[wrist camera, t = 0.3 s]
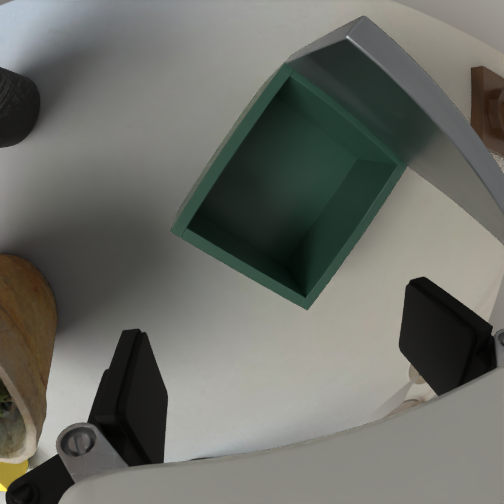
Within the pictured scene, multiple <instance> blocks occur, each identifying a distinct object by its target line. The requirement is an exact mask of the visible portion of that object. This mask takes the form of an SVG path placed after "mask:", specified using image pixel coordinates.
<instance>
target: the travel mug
mask: <svg viewBox="0 0 504 504" xmlns="http://www.w3.org/2000/svg"><path fill="white" fill-rule="evenodd" d="M39 109H40V97H39V92H38V89H37V87H36V85H35V84H34V83H33V82H32V81H31V80H30V79H28V78H27V77H24V76H22V75H20V74H17V73H14V72H12V71H9V70H7V69H4V68H1V67H0V148H3V147H8V146H13V145H15V144H17V143H19V142H21V141H22V140H23V139H24V138H25V137H27V135H28V134H29V133H30V132H31V130H32V129H33V127H34V125H35V123H36V120H37V117H38V114H39Z"/></svg>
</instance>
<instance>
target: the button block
mask: <svg viewBox="0 0 504 504" xmlns="http://www.w3.org/2000/svg"><path fill="white" fill-rule="evenodd" d="M471 82H472V107H471V127H472V128H473V129H474V131H475V132H476V133H477V135H478V136H479V138H480V139H481V140H482V142H483V143H484V145H485V146H486V148H487V149H488V150H489V152H491V153H493V154H496V155H499V156H501V157H504V78H502V77H501V76H499V75H497V74H496V73H494V72H492V71H491V70H489V69H487V68H485V67H484V66H480V67H473V68H471Z"/></svg>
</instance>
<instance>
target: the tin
mask: <svg viewBox="0 0 504 504" xmlns="http://www.w3.org/2000/svg"><path fill="white" fill-rule="evenodd" d="M285 62H286V61H285ZM285 62H284V63H283V64H282V65H281V66H280V67H279V68H278V69H277V70H276V71H275V72H274V73H273V74H272V75H271V76H270V78H269V79H268V80H267V81H266V82H265V83H264V84H263V85H262V87H261V88H260V89H259V91H258V92H257V93H256V95H255V96H254V98H253V99H252V100H251V102H250V103H249V104H248V106H247V107H246V109H245V110H244V111H243V113H242V114H241V116H240V117H239V118H238V120H237V121H236V123H235V124H234V126H233V127H232V128H231V130H230V131H229V133H228V134H227V136H226V137H225V139H224V140H223V142H222V143H221V145H220V146H219V148H218V149H217V151H216V152H215V153H214V155H213V157H212V158H211V160H210V161H209V163H208V164H207V166H206V167H205V169H204V170H203V172H202V173H201V175H200V176H199V178H198V180H197V181H196V183H195V184H194V186H193V187H192V189H191V191H190V192H189V194H188V195H187V197H186V199H185V200H184V202H183V203H182V205H181V207H180V208H179V210H178V213H177V215H176V218H175V220H174V223H173V225H172V228H171V231H170V232H171V233H173V234H175V235H177V236H178V237H181V238H182V239H183V240H185V241H187V242H188V243H190V244H192V245H193V246H195V247H197V248H199V249H200V250H202V251H204V252H205V253H207V254H209V255H211V256H212V257H214V258H216V259H217V260H219V261H221V262H223V263H224V264H226V265H228V266H230V267H231V268H233V269H235V270H237V271H238V272H240V273H242V274H244V275H245V276H247V277H249V278H250V279H252V280H254V281H256V282H258V283H259V284H261V285H263V286H265V287H266V288H268V289H270V290H272V291H273V292H275V293H277V294H279V295H280V296H282V297H284V298H286V299H288V300H289V301H291V302H293V303H295V304H296V305H298V306H300V307H302V308H304V309H306V310H308V309H309V308H310V306H311V305H312V304H313V302H314V301H315V300H316V298H317V297H318V296H319V294H320V293H321V292H322V290H323V289H324V288H325V286H326V285H327V284H328V282H329V281H330V280H331V278H332V277H333V276H334V274H335V273H336V271H337V270H338V269H339V267H340V266H341V265H342V263H343V262H344V260H345V259H346V258H347V256H348V255H349V253H350V252H351V250H352V249H353V248H354V246H355V245H356V243H357V242H358V240H359V239H360V238H361V236H362V235H363V233H364V232H365V230H366V229H367V227H368V226H369V224H370V223H371V221H372V220H373V218H374V217H375V216H376V214H377V213H378V211H379V209H380V208H381V206H382V205H383V203H384V202H385V200H386V199H387V197H388V196H389V194H390V193H391V191H392V190H393V188H394V186H395V185H396V183H397V182H398V180H399V179H400V177H401V175H402V174H403V172H404V171H405V169H406V167H407V165H406V164H405V163H404V162H403V161H402V160H401V159H400V158H399V157H398V156H397V155H396V154H395V153H394V152H393V151H392V150H391V149H390V148H389V147H388V146H387V145H386V144H385V143H384V142H382V141H381V140H380V139H379V138H378V137H377V136H376V135H375V134H374V133H373V132H371V131H370V130H369V129H368V128H367V127H366V126H365V125H364V124H362V123H361V122H360V121H359V120H358V119H357V118H355V117H354V116H353V115H352V114H351V113H350V112H348V111H347V110H346V109H345V108H343V107H342V106H341V105H340V104H339V103H337V102H336V101H335V100H334V99H332V98H331V97H330V96H329V95H327V94H326V93H325V92H323V91H322V90H321V89H320V88H318V87H317V86H316V85H314V84H313V83H312V82H310V81H309V80H308V79H306V78H305V77H303V76H302V75H301V74H299V73H298V72H297V71H295V70H294V69H292V68H291V67H289V66H288V65H287V64H285Z"/></svg>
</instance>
